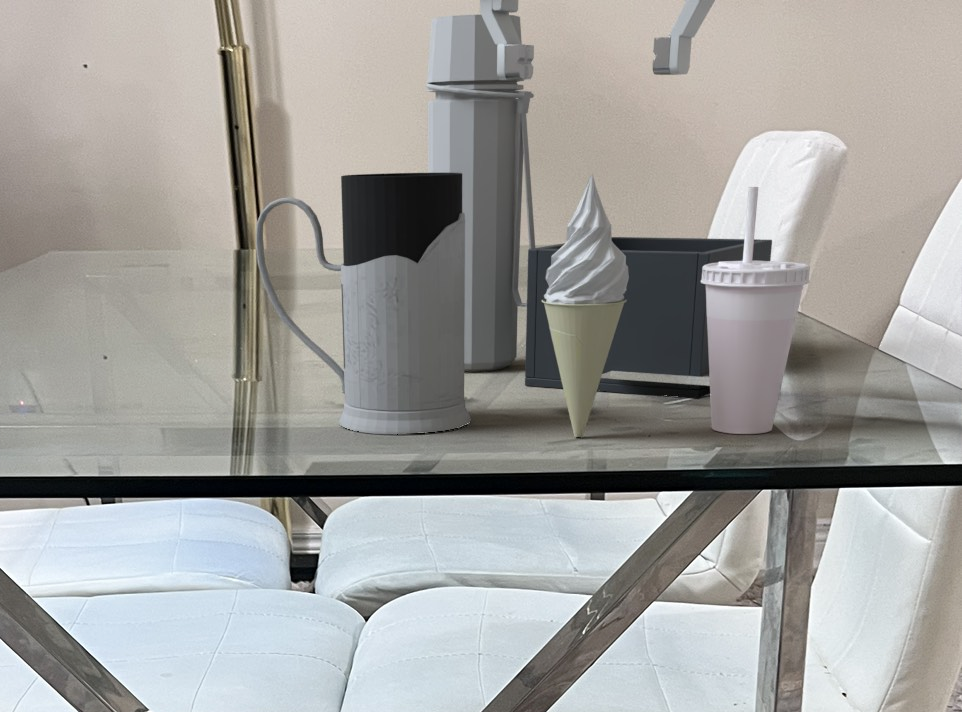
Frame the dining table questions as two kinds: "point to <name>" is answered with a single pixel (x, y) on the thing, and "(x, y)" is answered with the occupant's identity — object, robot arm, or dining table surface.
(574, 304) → the ice cream cone
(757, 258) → the open storage box
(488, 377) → the dining table surface
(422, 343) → the glass holder
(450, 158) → the water bottle
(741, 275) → the smoothie
